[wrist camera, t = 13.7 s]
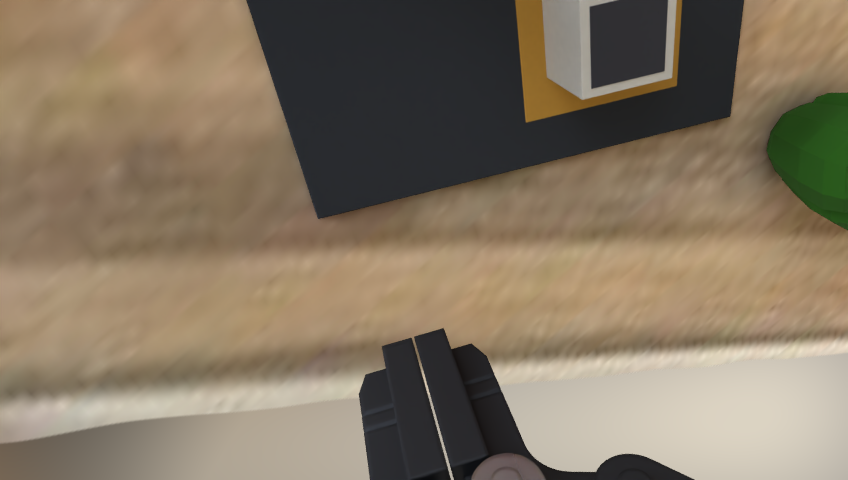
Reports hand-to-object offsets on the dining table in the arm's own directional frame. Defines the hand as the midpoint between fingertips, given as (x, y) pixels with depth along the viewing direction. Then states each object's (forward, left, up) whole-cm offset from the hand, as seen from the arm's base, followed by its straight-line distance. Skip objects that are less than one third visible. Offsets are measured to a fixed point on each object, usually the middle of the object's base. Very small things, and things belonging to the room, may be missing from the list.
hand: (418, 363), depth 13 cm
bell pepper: (+10, +30, -22) cm, 39 cm away
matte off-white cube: (-1, +14, -17) cm, 22 cm away
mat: (-1, +10, -22) cm, 24 cm away
